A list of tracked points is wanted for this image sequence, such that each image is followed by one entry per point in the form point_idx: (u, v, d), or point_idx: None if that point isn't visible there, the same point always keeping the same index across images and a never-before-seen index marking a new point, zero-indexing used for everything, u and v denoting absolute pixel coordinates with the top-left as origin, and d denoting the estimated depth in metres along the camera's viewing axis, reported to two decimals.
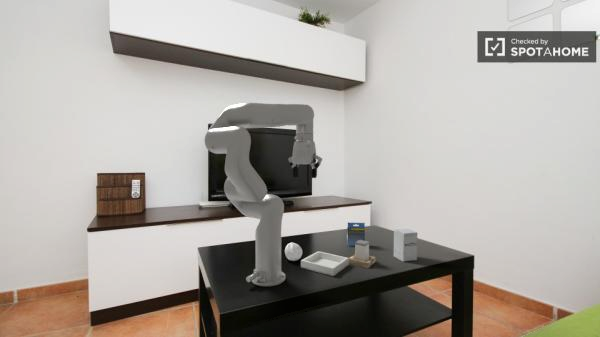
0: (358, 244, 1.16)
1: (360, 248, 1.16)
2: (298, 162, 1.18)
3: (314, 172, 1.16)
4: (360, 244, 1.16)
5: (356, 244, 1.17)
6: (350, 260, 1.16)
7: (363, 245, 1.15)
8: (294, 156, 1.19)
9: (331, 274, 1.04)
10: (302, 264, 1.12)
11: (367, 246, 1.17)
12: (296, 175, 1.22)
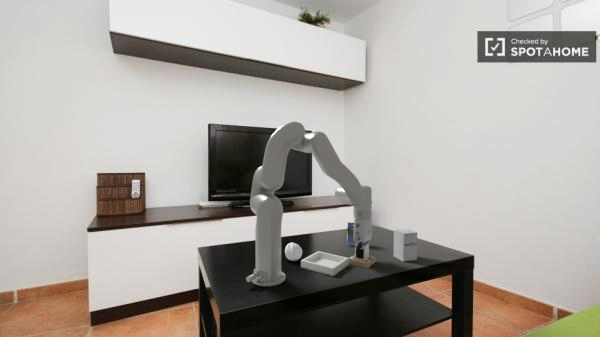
0: None
1: None
2: (367, 240, 1.15)
3: None
4: (360, 244, 1.16)
5: None
6: (350, 260, 1.16)
7: (363, 245, 1.15)
8: (365, 235, 1.13)
9: (331, 274, 1.04)
10: (302, 264, 1.12)
11: (367, 246, 1.17)
12: None
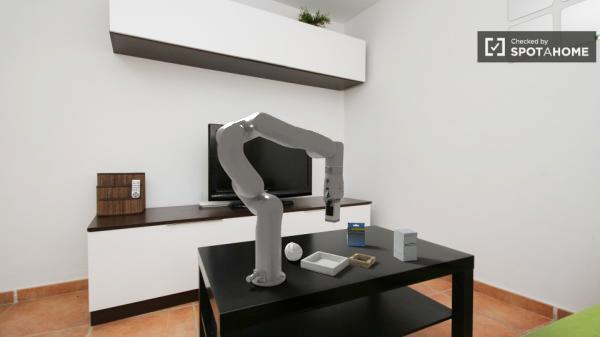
0: None
1: None
2: (337, 197, 1.11)
3: None
4: (330, 201, 1.12)
5: None
6: (350, 260, 1.16)
7: (333, 202, 1.11)
8: (335, 191, 1.09)
9: (331, 274, 1.04)
10: (302, 264, 1.12)
11: (338, 204, 1.13)
12: None
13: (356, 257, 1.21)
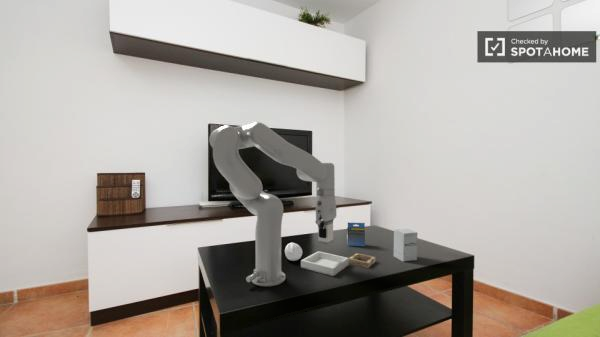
0: None
1: None
2: (329, 218, 1.10)
3: None
4: None
5: None
6: (350, 260, 1.16)
7: (326, 224, 1.11)
8: (327, 213, 1.09)
9: (331, 274, 1.04)
10: (302, 264, 1.12)
11: (331, 225, 1.13)
12: None
13: (356, 257, 1.21)
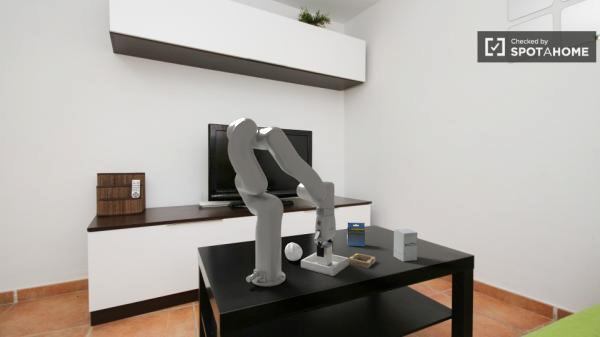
0: None
1: None
2: (329, 238, 1.10)
3: None
4: None
5: None
6: (350, 260, 1.16)
7: (325, 247, 1.11)
8: (326, 233, 1.09)
9: (331, 274, 1.04)
10: (302, 264, 1.12)
11: (330, 247, 1.13)
12: None
13: (356, 257, 1.21)
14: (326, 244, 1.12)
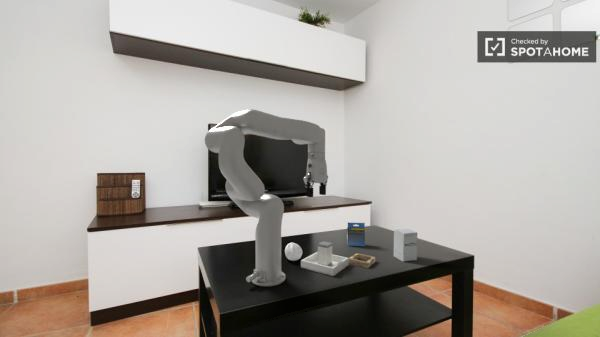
0: (320, 246, 1.12)
1: (322, 250, 1.12)
2: (319, 181, 1.16)
3: None
4: (322, 246, 1.12)
5: (318, 246, 1.13)
6: (350, 260, 1.16)
7: (325, 247, 1.11)
8: (316, 175, 1.14)
9: (331, 274, 1.04)
10: (302, 264, 1.12)
11: (330, 247, 1.13)
12: None
13: (356, 257, 1.21)
14: (326, 244, 1.12)
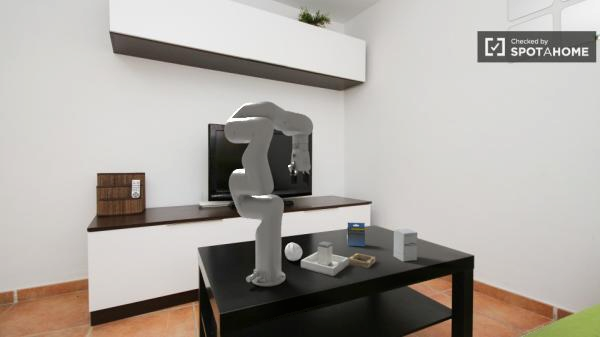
0: (320, 246, 1.12)
1: (322, 250, 1.12)
2: (303, 169, 1.28)
3: None
4: (322, 246, 1.12)
5: (318, 246, 1.13)
6: (350, 260, 1.16)
7: (325, 247, 1.11)
8: (300, 164, 1.26)
9: (331, 274, 1.04)
10: (302, 264, 1.12)
11: (330, 247, 1.13)
12: None
13: (356, 257, 1.21)
14: (326, 244, 1.12)
